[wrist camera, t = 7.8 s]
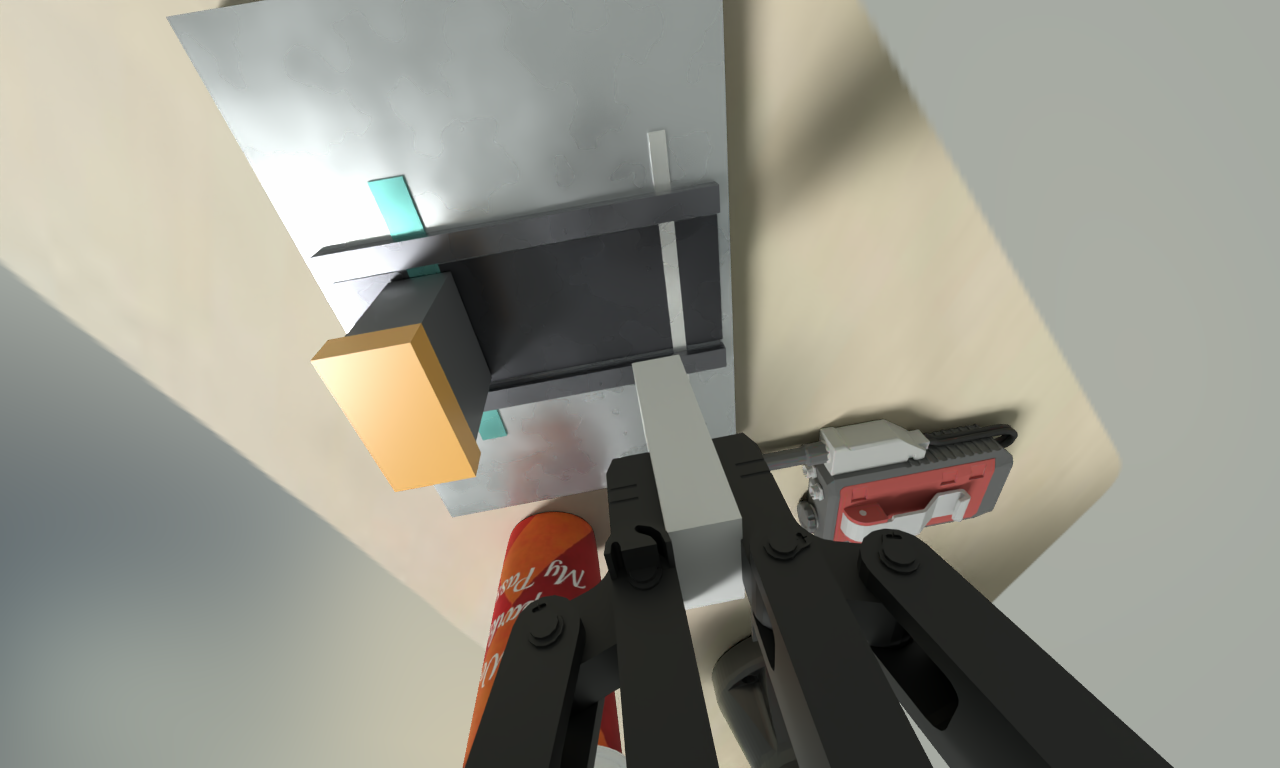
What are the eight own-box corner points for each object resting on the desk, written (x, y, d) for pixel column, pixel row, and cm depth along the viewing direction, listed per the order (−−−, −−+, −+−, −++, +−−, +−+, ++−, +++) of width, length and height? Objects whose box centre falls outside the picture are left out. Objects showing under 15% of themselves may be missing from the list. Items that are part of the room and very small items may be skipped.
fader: (497, 379, 21) (475, 476, 16) (435, 391, 21) (395, 492, 16) (453, 265, 18) (409, 342, 13) (380, 278, 18) (310, 360, 13)
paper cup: (564, 481, 28) (560, 768, 17) (632, 543, 32) (666, 808, 21) (464, 536, 30) (399, 831, 19) (541, 589, 34) (526, 857, 23)
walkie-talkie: (1010, 387, 29) (688, 447, 29) (1072, 434, 25) (705, 504, 25) (972, 485, 34) (698, 537, 34) (1019, 536, 30) (713, 595, 30)
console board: (727, 439, 28) (740, 471, 26) (459, 490, 28) (449, 526, 26) (704, -63, 15) (725, -82, 13) (209, 21, 15) (150, 15, 13)
